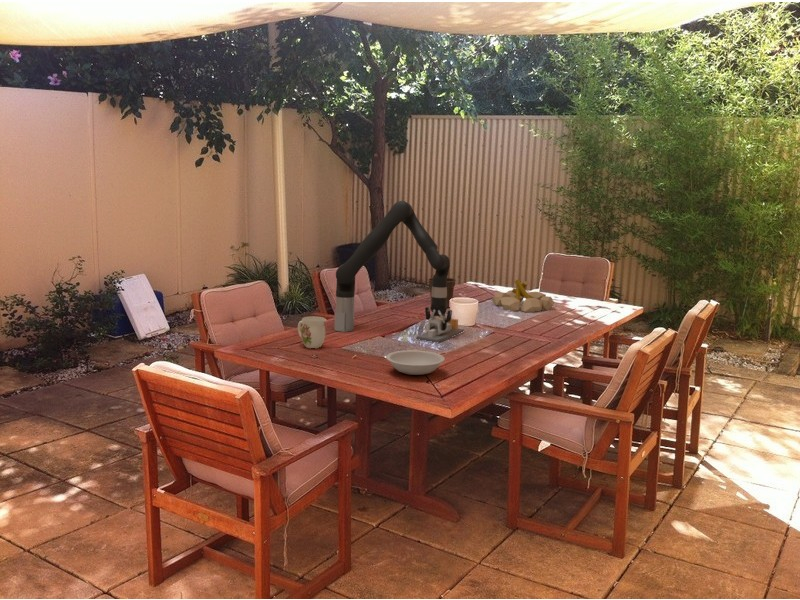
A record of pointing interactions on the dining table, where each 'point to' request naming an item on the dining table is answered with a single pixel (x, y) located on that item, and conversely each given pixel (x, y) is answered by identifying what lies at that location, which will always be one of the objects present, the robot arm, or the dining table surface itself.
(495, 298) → the campfire
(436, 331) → the coupler stand
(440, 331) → the lock block
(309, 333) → the pitcher
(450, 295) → the plant pot
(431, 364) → the soup bowl
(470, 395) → the dining table surface
